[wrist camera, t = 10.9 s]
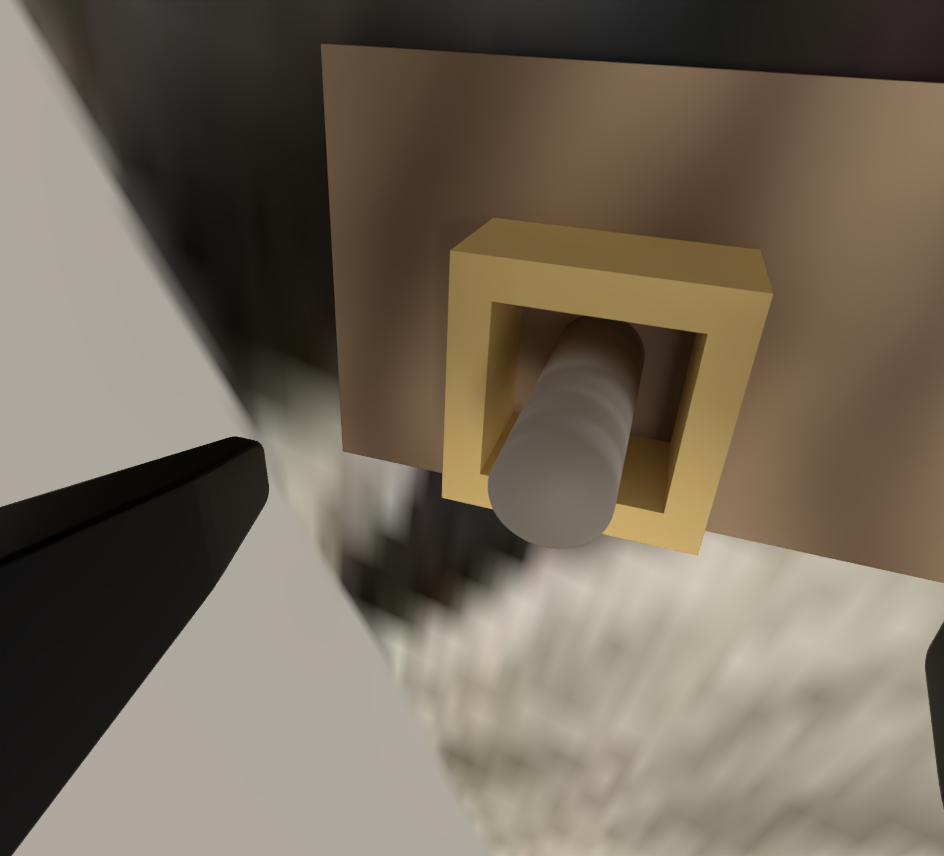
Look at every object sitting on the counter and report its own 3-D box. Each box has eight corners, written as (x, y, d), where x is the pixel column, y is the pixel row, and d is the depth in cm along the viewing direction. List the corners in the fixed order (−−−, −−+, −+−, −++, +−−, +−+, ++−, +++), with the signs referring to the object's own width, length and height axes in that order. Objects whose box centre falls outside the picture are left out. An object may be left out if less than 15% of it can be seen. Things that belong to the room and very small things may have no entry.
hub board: (1266, 102, 13) (1925, 158, 6) (994, 563, 19) (1164, 860, 12) (348, 44, 18) (109, 36, 11) (362, 430, 24) (215, 589, 17)
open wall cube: (760, 249, 16) (773, 294, 13) (698, 479, 19) (697, 555, 16) (493, 217, 17) (450, 250, 14) (479, 435, 21) (441, 497, 18)
